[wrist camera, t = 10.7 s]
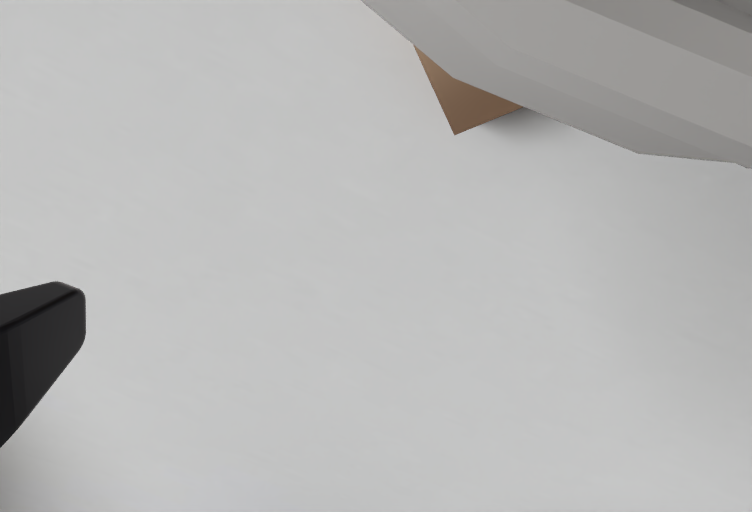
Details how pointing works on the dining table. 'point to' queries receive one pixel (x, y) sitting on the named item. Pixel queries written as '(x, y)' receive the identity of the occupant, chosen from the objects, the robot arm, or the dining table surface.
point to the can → (603, 65)
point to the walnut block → (463, 99)
